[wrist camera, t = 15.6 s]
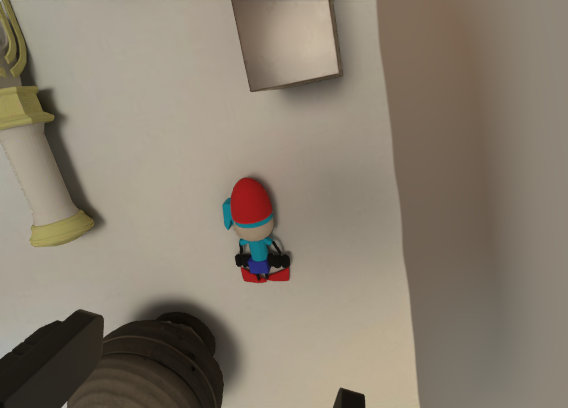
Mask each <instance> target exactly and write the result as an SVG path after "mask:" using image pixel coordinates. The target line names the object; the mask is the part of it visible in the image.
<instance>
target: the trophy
mask: <svg viewBox="0 0 568 408" xmlns="http://www.w3.org/2000/svg"><path fill="white" fill-rule="evenodd" d="M2 1H3V3H4V6H5V8H6V11H7V14H8V16H9V19H10V21H11V24H12V26H13V29H14V31H15V34H16V36H17V39H18V44H19V53H20V54H19V59H18V62H17V58H16V42H15V38H14V35H13V33H12V30H11V28H10V25H9V23H8V20H7V18H6V15H5V13H4V10H3V8H2V5H1V2H0V18H1V20H0V142H1V144H2V146H3V148H4V151H5V153H6V155H7V157H8V160H9V162H10V164H11V166H12V169H13V171H14V173H15V175H16V177H17V180H18V182H19V184H20V186H21V189H22V191H23V193H24V195H25V198H26V200H27V202H28V204H29V206H30V209H31V211H32V213H33V219H34V225H32V226H31V230H32V235H31V238H30V242H31V245H32V246H34V247H46V246H58V245H62V244H65V243H68V242H71V241H73V240H75V239H77V238H79V237H80V236H82V235H83V234H84V233H86V232H87V231H88V230H90V229H91V228H92V227H93V226H94V221H93V219H92V218H89V217H88V216H87V215H85V213H84V211H82V210H78V208H77V207H76V206H75V205H74V204H73V202H72V200H71V198H70V195H69V193H68V190H67V188H66V186H65V183H64V181H63V178H62V176H61V173H60V171H59V169H58V166H57V164H56V161H55V159H54V156H53V154H52V152H51V149H50V147H49V144H48V142H47V139H46V137H45V135H44V124H45V123H48V122H51V121H53V120H54V115H52V114H49V113H46V112H43V110H42V108H41V105H40V103H39V100H38V98H37V95H36V94H37V92H38V87H37V86H22V84H21V79H20V74H21V73H22V71H23V69H24V67H25V65H26V52H27V51H26V46H25V42H24V39H23V36H22V34H21V31H20V29H19V26H18V24H17V21H16V19H15V16H14V13H13V11H12V8H11V6H10V3H9V1H8V0H2Z"/></svg>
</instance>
